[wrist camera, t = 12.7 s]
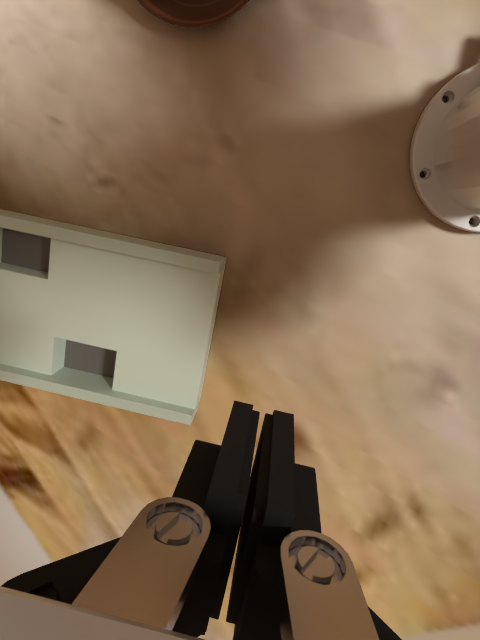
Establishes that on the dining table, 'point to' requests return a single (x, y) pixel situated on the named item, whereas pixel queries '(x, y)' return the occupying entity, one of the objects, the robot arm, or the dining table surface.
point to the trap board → (106, 315)
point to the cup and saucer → (193, 11)
